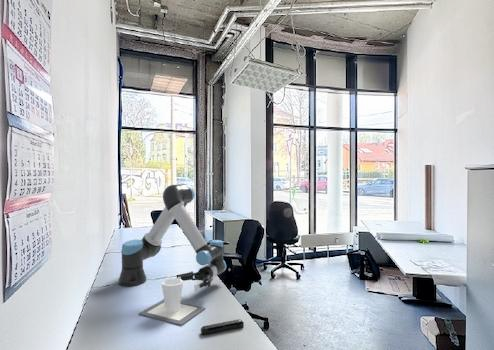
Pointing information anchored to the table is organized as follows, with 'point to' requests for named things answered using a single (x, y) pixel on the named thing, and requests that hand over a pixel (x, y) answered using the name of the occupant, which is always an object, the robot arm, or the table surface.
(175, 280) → the foam cup
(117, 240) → the table surface
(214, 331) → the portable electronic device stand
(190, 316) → the picture frame
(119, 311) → the table surface
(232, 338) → the table surface
